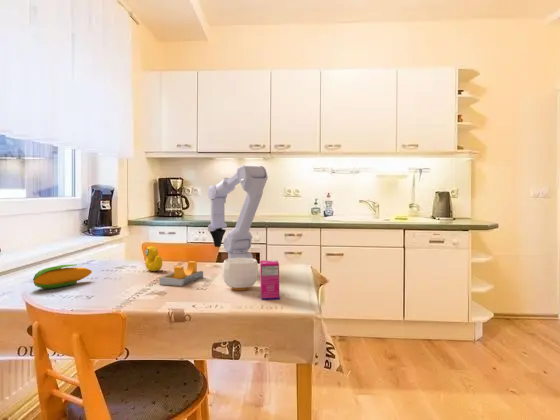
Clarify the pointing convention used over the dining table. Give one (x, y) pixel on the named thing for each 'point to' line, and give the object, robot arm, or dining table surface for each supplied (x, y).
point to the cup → (240, 272)
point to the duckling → (153, 259)
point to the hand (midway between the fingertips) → (217, 246)
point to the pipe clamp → (181, 273)
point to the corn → (59, 276)
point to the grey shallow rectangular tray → (183, 281)
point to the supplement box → (269, 279)
